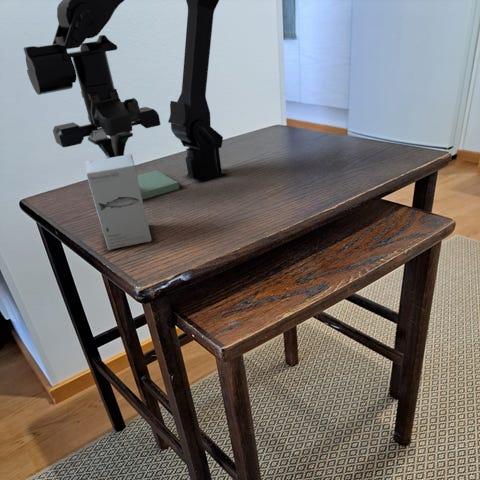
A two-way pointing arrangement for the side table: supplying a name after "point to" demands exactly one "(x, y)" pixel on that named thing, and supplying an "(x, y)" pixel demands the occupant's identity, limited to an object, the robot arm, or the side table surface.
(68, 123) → the robot arm
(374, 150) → the side table surface
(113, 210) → the white packaging box
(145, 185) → the scale
